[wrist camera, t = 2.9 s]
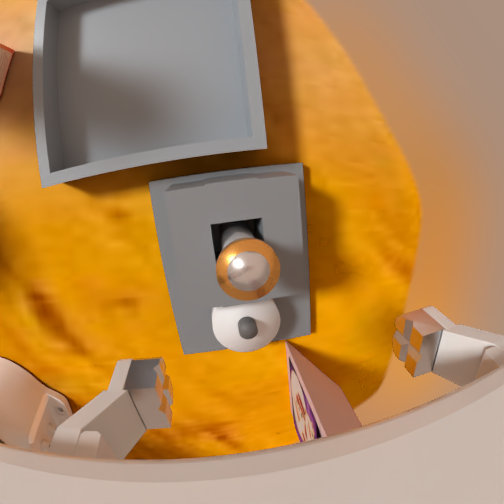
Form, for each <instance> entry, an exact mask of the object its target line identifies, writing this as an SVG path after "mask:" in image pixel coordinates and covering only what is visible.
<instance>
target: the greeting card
mask: <svg viewBox="0 0 504 504" xmlns="http://www.w3.org/2000/svg"><path fill="white" fill-rule="evenodd" d="M285 342H286V354H287V366H288V378H289V391H290V404H291V412H292V415H293V418H294V424H295V428H296V431H297V434H298V437H299V440H300V442H305V441H309V440H314V439H318V438H322V437H326V436H330V435H333V434H337V433H341V432H344V431H348V430H351V429H355V428H358V427H361V426H362V425H361V423H360V421H359V420H358V418H357V416H356V414H355V413H354V411H353V409H352V407H351V405H350V403H349V402H348V400H347V398H346V396H345V395H344V393H343V391H342V389H341V387H339V386H338V385H337V384H336V383H335V382H333V381H332V380H331V379H330V378H329V377H328V376H326V375H325V374H324V373H323V372H322V371H321V370H319V369H318V368H317V367H316V366H315V365H314V364H312V363H311V362H310V361H309V360H308V359H307V358H306V357H304V356H303V355H302V354H301V353H300V352H299V351H298V350H296V349H295V348H294V347H293V346H292V345H291V344H290V343H288V342H287V341H286V340H285Z"/></svg>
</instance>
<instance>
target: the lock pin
mask: <svg viewBox="0 0 504 504" xmlns="http://www.w3.org/2000/svg"><path fill="white" fill-rule="evenodd" d="M219 233H220V238H221V244H222V249H223V250H222V251H221V253H220V254H219V256H218V259H217V262H216V276H217V280H218V283H219V285H220V287H221V288H222V290H223V291H224V292H225V293H226V294H228V295H229V296H231V297H232V298H235V299H238V300H243V301H251V300H256V299H259V298H261V297H263V296H265V295H267V294H268V293H269V292H270V291H271V290H272V289H273V288H274V287H275V285H276V284H277V282H278V279H279V276H280V262H279V259H278V257H277V255H276V253H275V252H274V250H273V249H272V248H271V247H270V246H269V245H268V244H267V243H265V242H264V241H262V240H259V239H256V238H254V236H253V234H252V233H251V231H250V229H249V227H248V226H247V224H246V222H245V221H244V220H240V221H233V222H225V223H220V226H219Z"/></svg>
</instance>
